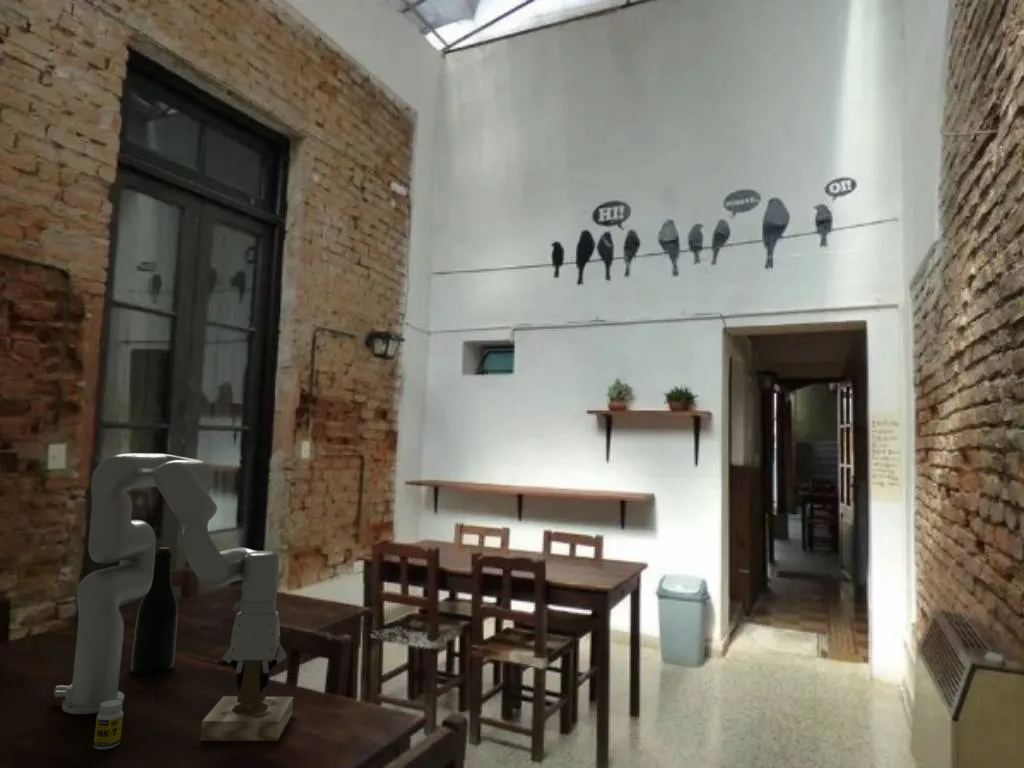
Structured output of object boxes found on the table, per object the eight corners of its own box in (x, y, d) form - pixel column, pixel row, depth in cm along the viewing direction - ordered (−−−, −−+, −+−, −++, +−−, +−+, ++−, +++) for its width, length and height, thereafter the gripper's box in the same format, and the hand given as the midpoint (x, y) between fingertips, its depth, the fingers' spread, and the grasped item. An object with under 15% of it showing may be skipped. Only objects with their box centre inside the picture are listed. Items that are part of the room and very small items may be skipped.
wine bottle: (162, 660, 188) (173, 543, 192) (180, 669, 182) (192, 548, 185) (123, 669, 180) (135, 546, 183) (141, 678, 174) (154, 551, 177)
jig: (200, 740, 140) (202, 721, 141) (222, 713, 154) (223, 696, 155) (277, 740, 142) (278, 721, 142) (291, 714, 156) (293, 696, 156)
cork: (271, 696, 151) (274, 647, 152) (252, 706, 145) (256, 654, 146) (249, 692, 153) (253, 643, 154) (230, 701, 147) (234, 650, 148)
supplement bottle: (91, 751, 133) (95, 708, 134) (95, 741, 138) (99, 700, 139) (118, 748, 135) (122, 706, 136) (121, 738, 140) (125, 697, 140)
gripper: (215, 610, 146) (208, 696, 144) (292, 611, 148) (286, 695, 146) (226, 602, 154) (219, 683, 152) (299, 603, 155) (293, 683, 154)
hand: (252, 688), depth 149 cm, fingers closed on cork, 3 cm apart
